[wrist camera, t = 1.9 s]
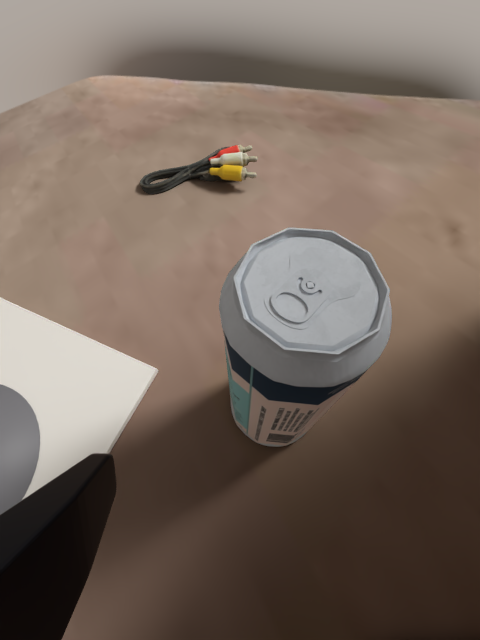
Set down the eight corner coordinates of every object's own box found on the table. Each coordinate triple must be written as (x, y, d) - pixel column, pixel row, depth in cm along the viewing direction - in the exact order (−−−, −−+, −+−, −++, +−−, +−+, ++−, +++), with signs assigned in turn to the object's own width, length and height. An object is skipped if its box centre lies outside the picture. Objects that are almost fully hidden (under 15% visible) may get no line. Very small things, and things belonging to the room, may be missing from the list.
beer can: (330, 400, 19) (441, 277, 8) (279, 468, 17) (338, 420, 7) (266, 349, 20) (292, 192, 10) (213, 407, 19) (177, 290, 8)
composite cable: (141, 200, 27) (133, 174, 25) (144, 162, 30) (137, 136, 28) (258, 192, 28) (260, 166, 26) (252, 156, 30) (253, 130, 28)
